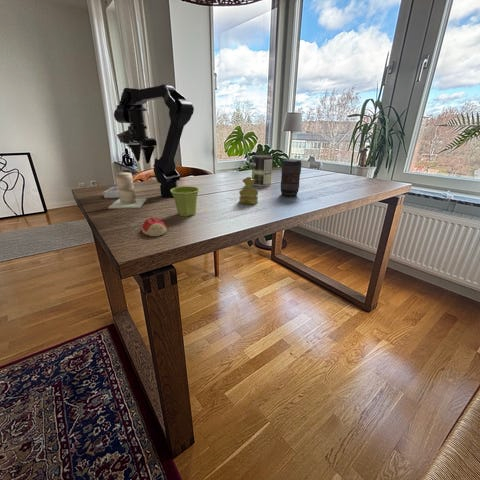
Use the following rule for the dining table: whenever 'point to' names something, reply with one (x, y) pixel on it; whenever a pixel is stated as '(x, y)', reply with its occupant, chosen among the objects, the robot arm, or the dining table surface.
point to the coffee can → (262, 169)
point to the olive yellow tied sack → (248, 192)
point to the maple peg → (125, 188)
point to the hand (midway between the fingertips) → (142, 162)
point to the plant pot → (185, 199)
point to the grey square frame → (112, 193)
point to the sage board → (119, 205)
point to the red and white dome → (154, 227)
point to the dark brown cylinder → (290, 177)
